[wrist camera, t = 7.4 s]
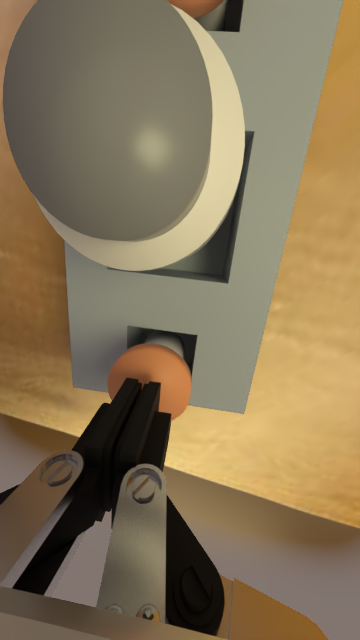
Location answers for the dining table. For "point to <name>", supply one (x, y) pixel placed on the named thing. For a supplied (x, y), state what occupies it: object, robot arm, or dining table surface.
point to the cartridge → (124, 128)
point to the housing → (235, 231)
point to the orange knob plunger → (156, 370)
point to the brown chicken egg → (205, 12)
